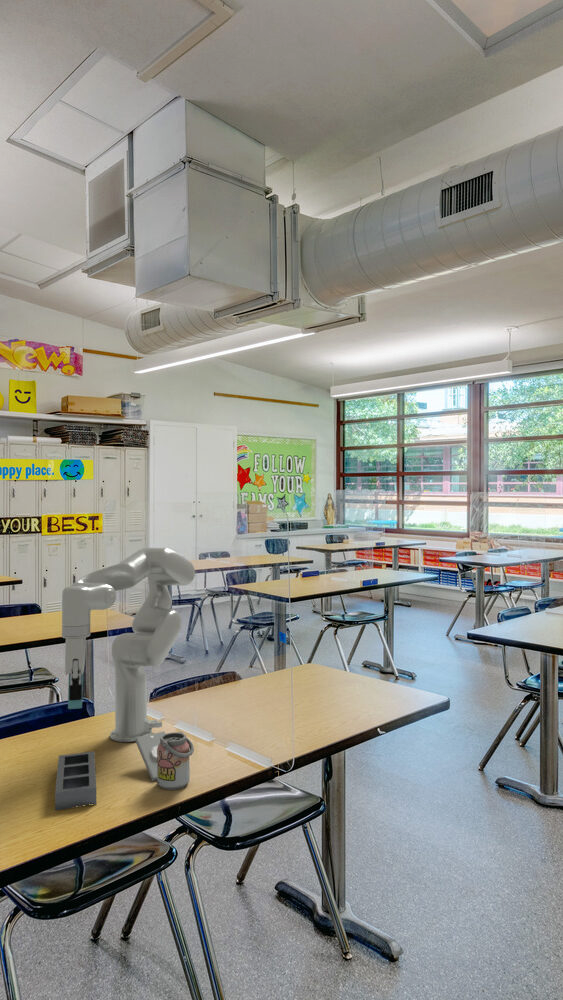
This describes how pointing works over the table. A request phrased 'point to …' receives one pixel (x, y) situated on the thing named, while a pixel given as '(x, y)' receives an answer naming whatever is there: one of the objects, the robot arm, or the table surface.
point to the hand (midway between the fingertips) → (75, 697)
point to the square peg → (75, 703)
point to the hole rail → (75, 780)
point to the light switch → (149, 751)
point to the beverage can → (173, 761)
